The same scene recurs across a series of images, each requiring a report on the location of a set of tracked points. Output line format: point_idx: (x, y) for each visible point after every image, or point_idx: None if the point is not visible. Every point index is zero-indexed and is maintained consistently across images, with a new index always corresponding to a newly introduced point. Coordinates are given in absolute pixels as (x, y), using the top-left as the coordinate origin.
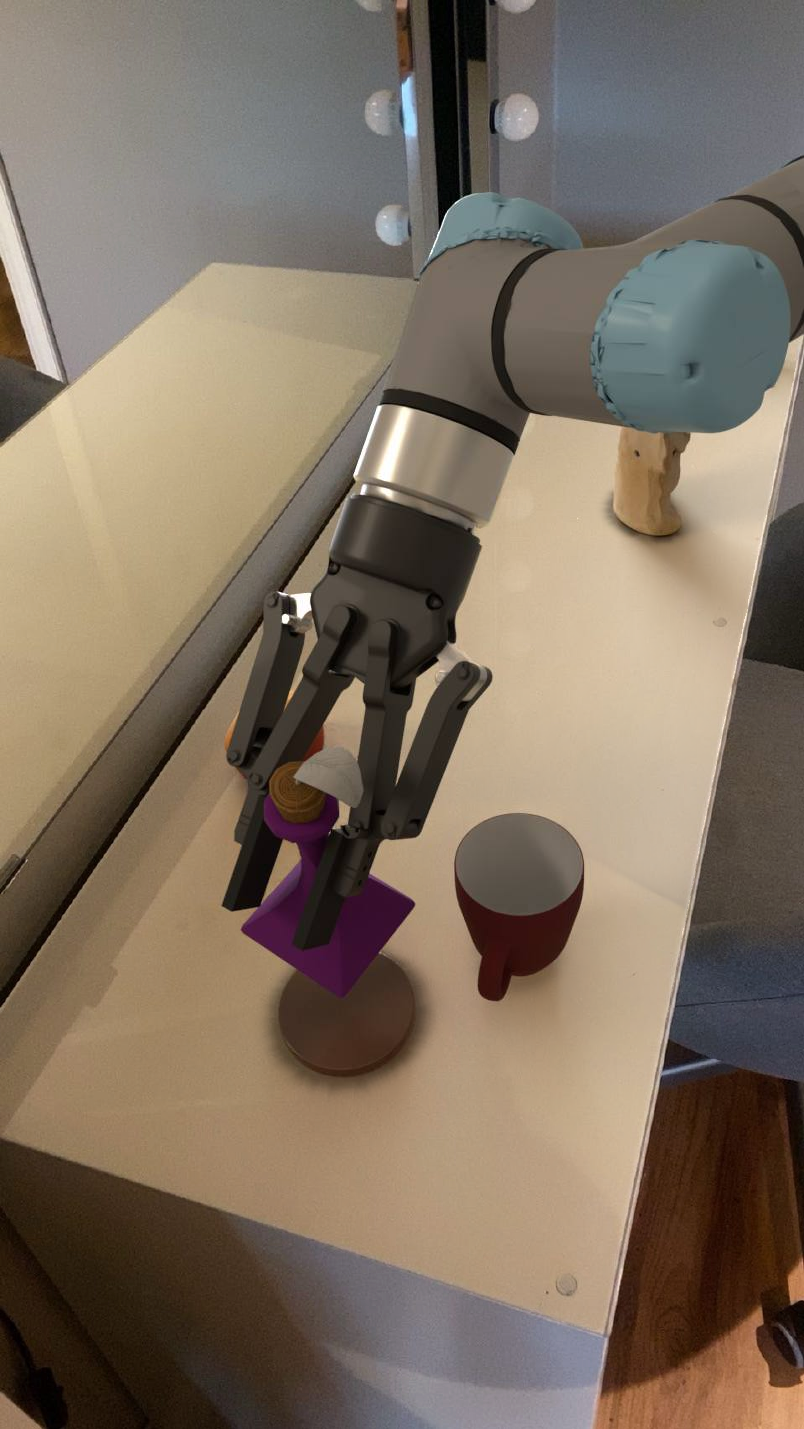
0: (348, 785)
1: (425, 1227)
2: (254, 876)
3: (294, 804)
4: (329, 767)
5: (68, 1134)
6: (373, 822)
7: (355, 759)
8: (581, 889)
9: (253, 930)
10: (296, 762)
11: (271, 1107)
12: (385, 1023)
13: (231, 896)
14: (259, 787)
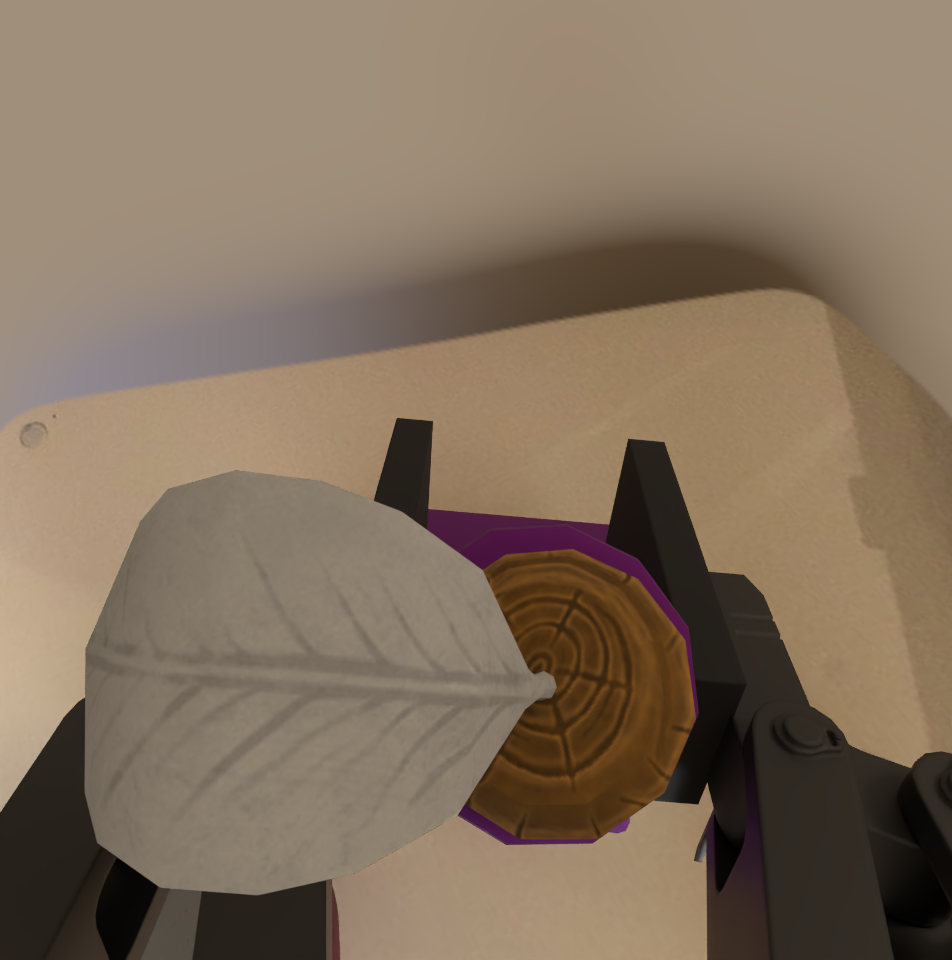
0: (94, 631)
1: (229, 417)
2: (630, 535)
3: (498, 578)
4: (203, 649)
5: (737, 312)
6: None
7: (101, 839)
8: None
9: None
10: (627, 803)
11: (506, 464)
12: None
13: (650, 459)
14: (766, 711)
